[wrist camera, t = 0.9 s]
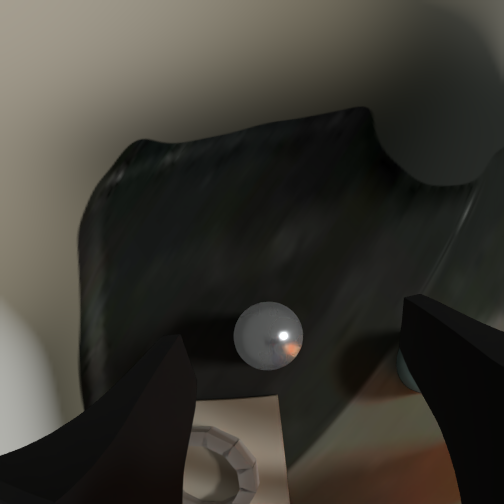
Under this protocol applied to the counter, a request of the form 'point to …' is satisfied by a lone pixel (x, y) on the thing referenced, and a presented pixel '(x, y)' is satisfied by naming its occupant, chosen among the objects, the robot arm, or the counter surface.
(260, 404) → the board
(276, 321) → the steel pin
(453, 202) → the counter surface
